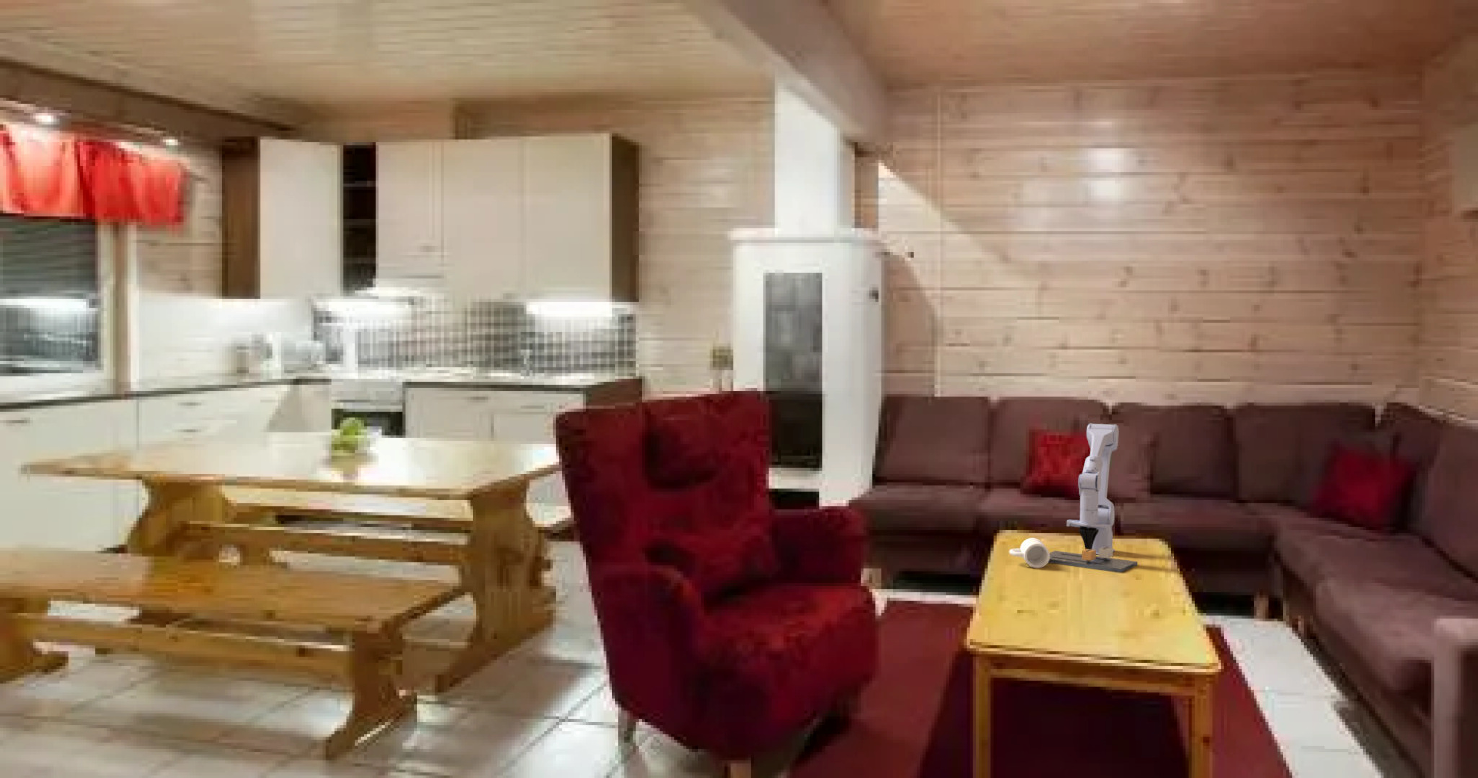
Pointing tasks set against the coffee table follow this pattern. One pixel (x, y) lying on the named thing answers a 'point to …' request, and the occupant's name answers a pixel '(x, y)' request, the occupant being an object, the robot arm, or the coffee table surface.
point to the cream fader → (1105, 552)
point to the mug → (1032, 553)
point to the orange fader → (1088, 554)
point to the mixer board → (1091, 562)
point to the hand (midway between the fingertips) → (1088, 550)
